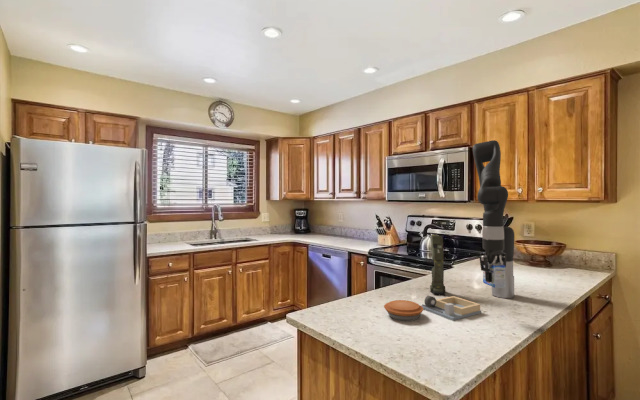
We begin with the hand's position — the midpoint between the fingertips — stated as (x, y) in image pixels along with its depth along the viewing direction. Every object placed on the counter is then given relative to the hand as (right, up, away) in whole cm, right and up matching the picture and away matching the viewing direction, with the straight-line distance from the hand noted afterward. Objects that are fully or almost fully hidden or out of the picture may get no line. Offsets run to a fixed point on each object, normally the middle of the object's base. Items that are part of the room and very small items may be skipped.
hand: (493, 280), depth 128 cm
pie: (-34, -16, +4) cm, 38 cm away
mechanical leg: (-9, -15, +37) cm, 41 cm away
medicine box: (0, -2, 0) cm, 2 cm away
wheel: (-21, -14, +11) cm, 28 cm away
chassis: (-13, -15, +10) cm, 22 cm away
